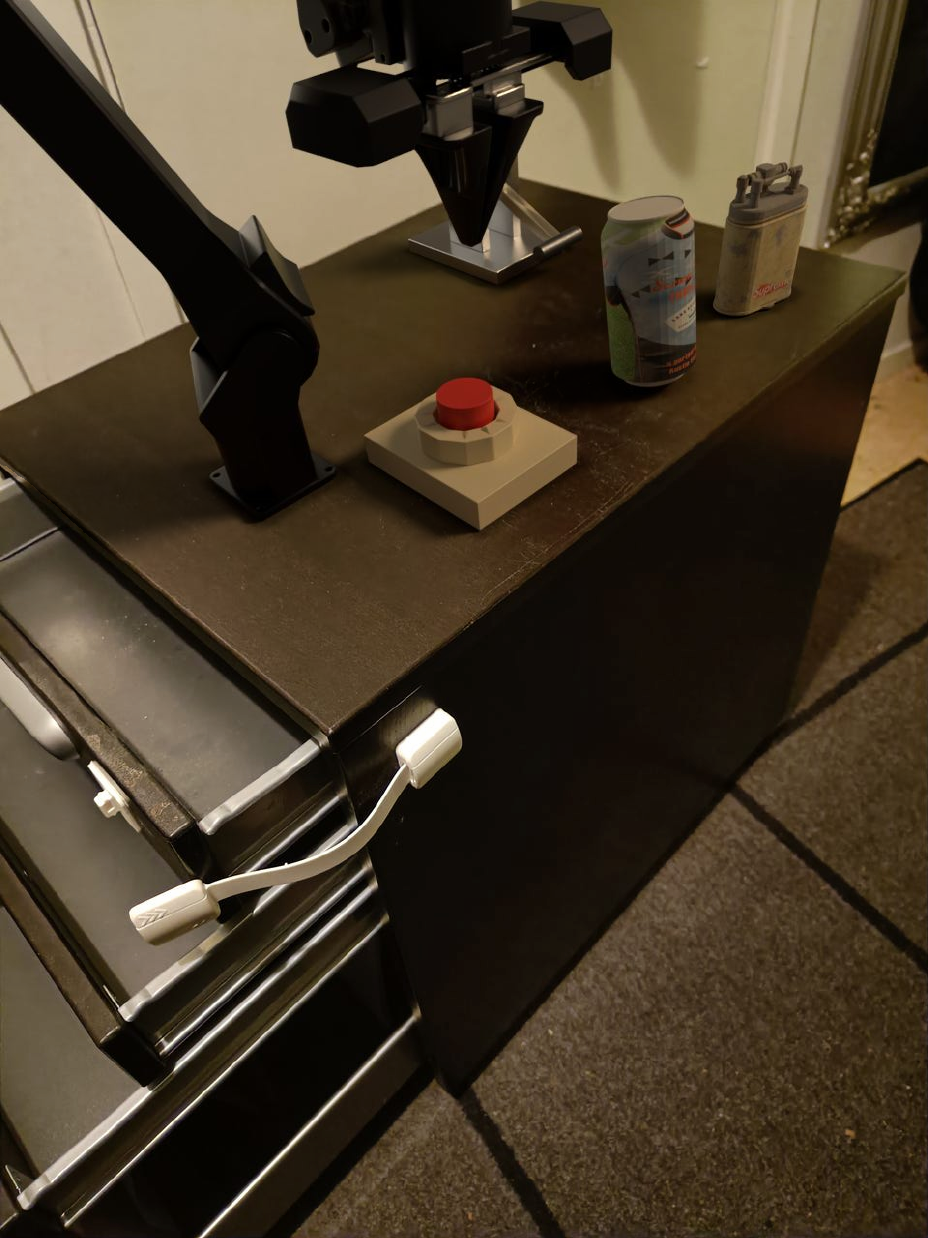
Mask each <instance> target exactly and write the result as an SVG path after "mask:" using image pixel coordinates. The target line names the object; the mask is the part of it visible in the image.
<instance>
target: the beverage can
mask: <svg viewBox="0 0 928 1238" xmlns="http://www.w3.org/2000/svg"><path fill="white" fill-rule="evenodd" d="M685 205H686V202H685V200H684V198H682V197H680V196H677V195H670V194H669V195H668V194H662V195H661V194H660V195H658V194H657V195H649V196H641V197H637V198H632V199H630V200H627V201H624V202H621V203H619V204H617V205H615V206H613V207H611V208H610V209H609V210H608V212H607V221H606V223H605V225H604V227H603V229H602V231H601V235H600V246H601V259H602V270H603V271H602V272H603V281H604V284H603V285H604V293H605V295H604V296H605V307H606V308H605V309H606V319H607V330H608V343H609V353H610V354H609V355H610V366H611V372H612V374H613V375H614V376H616V377H617V378H619V379H621V380H623V381H625V382H626V383H627V384H630V385H632V386H637V387H642V388H643V387H651V388H652V387H658V386H664V385H667V384H671V383H674V382H675V381H677V380H678V379H680V378H681V377H683V376H684V375H685V373H688V371H690V370H691V369H692V368H693V367H694V366H695V364H696V362H697V322H696V321H697V320H696V318H697V314H696V313H697V312H696V254H695V253H696V251H695V249H696V248H695V247H696V246H695V244H696V243H695V242H696V241H695V221H694V219H693V216H692V215H691V213H689V211H688V209H687V208H686V206H685Z"/></svg>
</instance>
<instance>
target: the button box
mask: <svg viewBox="0 0 928 1238" xmlns="http://www.w3.org/2000/svg"><path fill="white" fill-rule="evenodd" d="M490 386H491V387H492V389H493V401H494V418H493V420H492V422H491V423H489V424H487V425H486V426H484V427H482V428H478V429H473V430H468V431H456V430H448V429H446V428H445V427H443V426H442V425H441V424H440V422H439V418H438V410H437V402H436V392H434V393H433V394H431V395H429V396H427V397H426V398H424V399H423V400H422V401H420V402H418V403H416V404H415V405H412V407H410V408H408V409H406V410H405V411H403V412H401V413H400V414H397V415H396V416H395V417H393V418H391V419H389V420H388V421H386V422H384V423H383V424H380V425H379V426H377V427H376V428H373V429H372V430H370V431H368V432H367V433H365V434H364V435H363V439H364V444H365V448H366V453H367V459H368V462H369V463H370V464H372V465H373V466H375V467H376V468H379V469H380V470H382V471H383V472H385V473H386V474H387V475H390V476H391V477H393V478H395V479H396V480H398V481H399V482H401V483H403V484H404V485H405V486H407V487H409V488H411V489H412V490H414V491H415V492H417V493H418V494H420V495H422V496H423V497H425V498H427V499H428V500H430V501H431V502H433V503H434V504H436V505H438V506H439V507H441V508H443V509H444V510H445V511H447V512H448V513H451V514H452V515H454V516H455V517H457V518H458V519H460V520H462V521H463V522H465V523H466V524H469V525H470V526H471V527H473V528H474V529H476V530H478V531H482V530H484V529H485V528H486V527H487V526H489V525H491V524H492V523H493V522H495V521H497V520H498V519H499V518H500V517H502V516H504V515H505V514H506V513H508V512H509V511H511V510H512V509H513V508H515V507H516V506H518V505H520V503H522V502H523V501H525V500H526V499H528V498H529V497H531V496H532V495H533V494H535V493H536V492H538V490H540V489H542V488H543V487H545V486H546V485H548V484H549V483H550V482H552V481H553V480H555V479H556V478H558V477H559V476H561V475H562V474H563V473H565V472H566V471H568V470H570V469H571V468H572V467H574V466H575V465H576V464H578V435H577V434H575V433H572V432H570V431H568V430H566V429H564V428H563V427H561V426H558V425H556V424H554V423H552V422H550V421H548V420H547V419H544V418H542V417H540V416H538V415H536V414H534V413H532V412H530V411H528V410H526V409H524V408H522V407H519V406H517V404H516V402H515V400H514V398H513V396H512V395H511V394H510V393H508V392H506V391H504V390H502V389H500V388H497V386H496V387H495V386H494V385H490Z"/></svg>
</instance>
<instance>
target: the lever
mask: <svg viewBox="0 0 928 1238" xmlns="http://www.w3.org/2000/svg"><path fill="white" fill-rule="evenodd" d="M499 200H500V201H501V202H502V203H503V204H504V205H505V206H506V207H507V208H508V209H509V210H510V211H511V212H512V213H513V214H515V215H516V216H517V217H518V218H519V219H520V222H522V223H524V224H525V225H526V226H527V227H528V228H529V229H530V230H531V231H532V232H534V233H535V234H536V235H537V236H538V237H539V238H540V239H541V240H542V241H543V242H542V243H540V244H538V245H536V246H535V247H534V248H533V256H534V258H535V259H536V260H537V261H539V262H540V263H542V262H544V261H546V260H548V259H549V258H551V257H553V256H555V255H557V254H559V253H561V252H562V250H563V251H564V249H565V250H566V249H568V248H569V247H571V246H574V245H576V244H577V243H579V242H581V241H582V239H583V231H582V229H581V227H580V226H578V225H573V226H572V227H569V228H567V229H566V230H564V231H561V232H559V231H558V230H557V229H556V228H555V227H554V226H553V225H551V223H550V222H548V221H547V220H546V218H544V217H543V216H542V215H541V214H540V213H539V212H538V211H537V210H536V209H535V208H533V206H532V205H530V203H528V202H527V201H526V200H525V199H524V197H522V196H521V195H520V193H519V194H517V193H516V192H515V191H514V190H513V189H512V188H511V187H510V186H509V185H508V184H507V183H506V182H505V184H504V187H503V189H502V192H501V194H500V197H499ZM560 251H561V252H560ZM558 252H559V253H558ZM556 253H557V254H556ZM554 254H555V255H554ZM547 258H548V259H547ZM545 259H546V260H545ZM543 260H544V261H543ZM541 261H542V262H541Z"/></svg>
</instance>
